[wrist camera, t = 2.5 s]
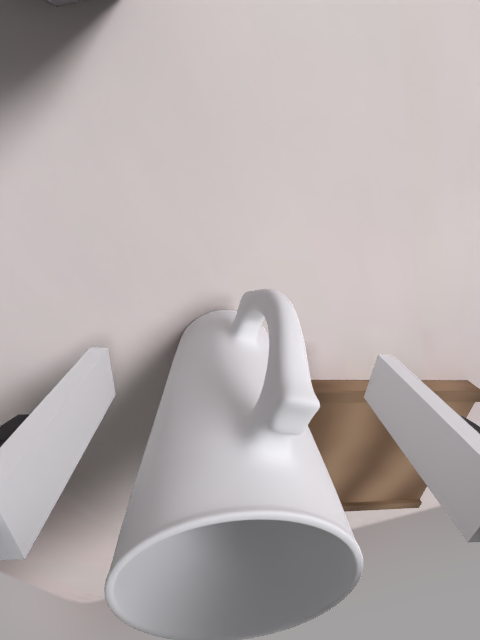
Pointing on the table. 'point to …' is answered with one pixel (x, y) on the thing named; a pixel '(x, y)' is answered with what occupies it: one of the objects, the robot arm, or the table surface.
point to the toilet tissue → (62, 2)
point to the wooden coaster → (372, 444)
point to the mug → (233, 490)
